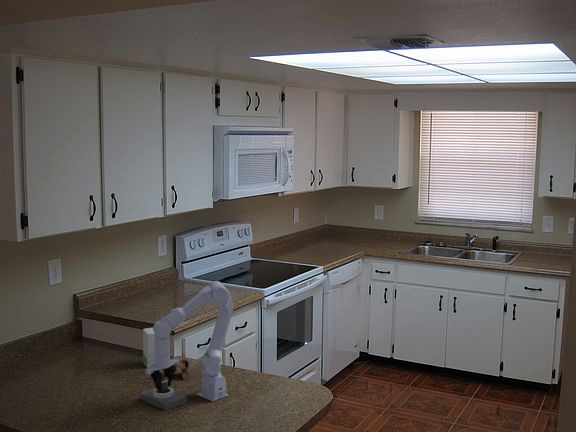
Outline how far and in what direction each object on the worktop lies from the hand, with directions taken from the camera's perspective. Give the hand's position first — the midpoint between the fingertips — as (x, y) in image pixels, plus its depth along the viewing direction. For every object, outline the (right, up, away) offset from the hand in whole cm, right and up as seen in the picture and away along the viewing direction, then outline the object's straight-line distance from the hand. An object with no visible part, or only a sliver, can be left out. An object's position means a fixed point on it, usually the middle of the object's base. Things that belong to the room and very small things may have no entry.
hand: (163, 387), depth 254 cm
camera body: (0, -5, +1) cm, 5 cm away
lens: (0, -2, 0) cm, 2 cm away
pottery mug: (+1, -2, +26) cm, 27 cm away
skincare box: (-12, -1, +41) cm, 43 cm away
